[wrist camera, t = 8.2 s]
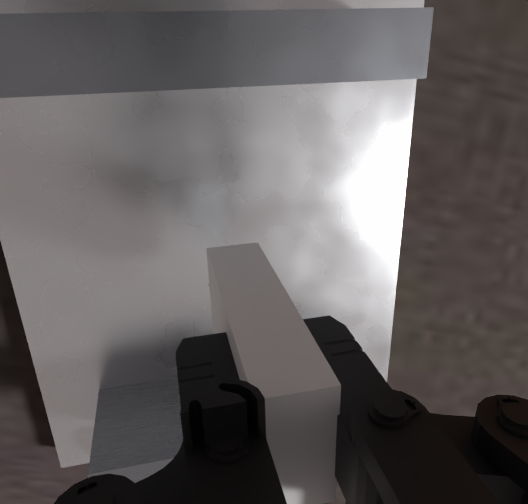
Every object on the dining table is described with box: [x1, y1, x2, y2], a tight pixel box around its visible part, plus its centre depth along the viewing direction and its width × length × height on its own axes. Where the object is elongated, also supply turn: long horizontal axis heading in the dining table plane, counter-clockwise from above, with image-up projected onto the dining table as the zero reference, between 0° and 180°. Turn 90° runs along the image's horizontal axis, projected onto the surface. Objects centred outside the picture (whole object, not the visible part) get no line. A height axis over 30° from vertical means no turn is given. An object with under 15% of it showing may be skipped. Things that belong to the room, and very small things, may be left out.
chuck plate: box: [0, 0, 434, 483], centre depth 16 cm, size 18×14×5 cm
